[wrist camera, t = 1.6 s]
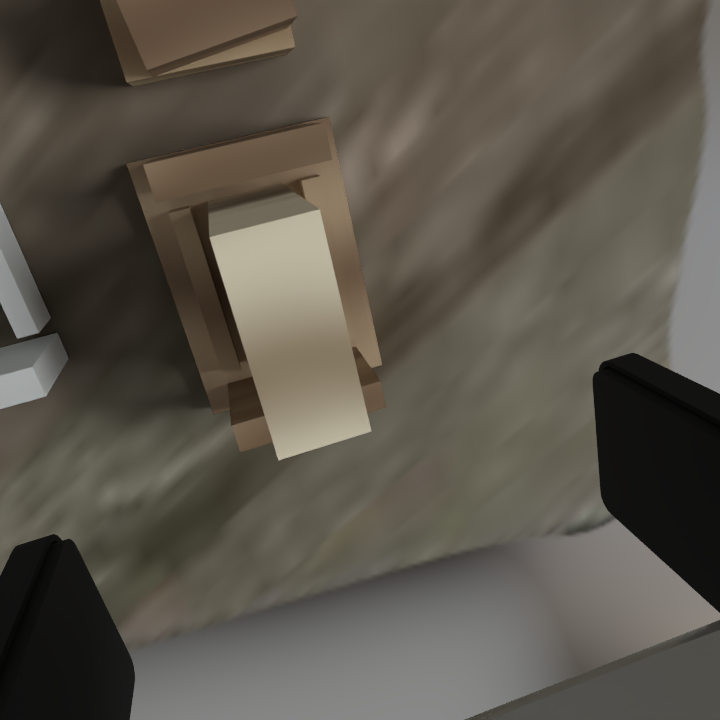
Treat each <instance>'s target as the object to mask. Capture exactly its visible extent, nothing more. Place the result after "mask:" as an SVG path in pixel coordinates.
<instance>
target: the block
mask: <svg viewBox="0 0 720 720" xmlns="http://www.w3.org/2000/svg"><path fill="white" fill-rule="evenodd" d="M208 218H209V238H210V241H211V244H212V247H213V251H214V254H215V257H216V260H217V263H218V267H219V270H220V273H221V276H222V280H223V283H224V286H225V289H226V292H227V296H228V299H229V302H230V305H231V309H232V312H233V315H234V318H235V321H236V325H237V328H238V331H239V334H240V338H241V341H242V344H243V347H244V350H245V354H246V357H247V360H248V363H249V366H250V370H251V373H252V376H253V379H254V383H255V386H256V389H257V392H258V395H259V399H260V402H261V405H262V408H263V412H264V415H265V418H266V421H267V424H268V428H269V431H270V434H271V437H272V441H273V444H274V447H275V450H276V453H277V457H278V460H281V459H284V458H287V457H291V456H294V455H297V454H300V453H303V452H307V451H310V450H313V449H316V448H320V447H323V446H326V445H329V444H332V443H336V442H339V441H342V440H345V439H348V438H352V437H355V436H358V435H361V434H364V433H368V432H371V428H370V423H369V419H368V415H367V410H366V406H365V402H364V398H363V393H362V389H361V385H360V380H359V376H358V372H357V367H356V363H355V359H354V354H353V350H352V346H351V342H350V337H349V333H348V329H347V324H346V320H345V316H344V311H343V307H342V303H341V298H340V294H339V290H338V286H337V281H336V277H335V273H334V268H333V264H332V260H331V255H330V251H329V247H328V242H327V238H326V234H325V230H324V225H323V221H322V217H321V212H320V209H319V208H317V207H316V206H314V205H313V204H311V203H310V202H308V201H307V200H305V199H304V198H302V197H301V196H299V195H298V194H297V193H295V192H294V191H292V190H291V189H289V188H288V187H286V186H285V185H283V184H282V183H279V184H275V185H271V186H267V187H263V188H258V189H254V190H250V191H246V192H242V193H238V194H234V195H230V196H226V197H222V198H218V199H214V200H209V201H208Z"/></svg>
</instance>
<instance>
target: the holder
mask: <svg viewBox="0 0 720 720" xmlns="http://www.w3.org/2000/svg"><path fill="white" fill-rule="evenodd" d="M0 303H1V305H2V308H3V310H4V312H5V314H6V316H7V318H8V320H9V322H10V324H11V327H12V329H13V331H14V333H15V335H16V337H17V339H18V338H22V337H26V336H29V335H33V334H37V333H39V332H40V331H41V330H42V329H43V327H44V326H45V325H46V324H47V322H48V321H49V320H50V319H51V317H50V315H49V312H48V310H47V308H46V306H45V303H44V301H43V299H42V297H41V294H40V292H39V290H38V288H37V285H36V283H35V281H34V278H33V276H32V274H31V272H30V269H29V267H28V265H27V263H26V260H25V258H24V256H23V254H22V251H21V249H20V247H19V244H18V242H17V240H16V238H15V235H14V233H13V231H12V229H11V226H10V224H9V222H8V220H7V217H6V215H5V213H4V210H3V208H2V206H1V204H0ZM68 359H69V358H68V356H67V353H66V351H65V349H64V347H63V344H62V342H61V340H60V337H59V335H58V333H54V334H50V335H47V336H43V337H39V338H35V339H32V340H28V341H24V342H20V343H17V344H13V345H9V346H5V347H2V348H0V409H3V408H6V407H10V406H13V405H17V404H21V403H24V402H28V401H31V400H35V399H38V398H42V397H45V396H47V394H48V392H49V391H50V389H51V387H52V386H53V384H54V382H55V381H56V379H57V377H58V376H59V374H60V372H61V371H62V369H63V367H64V366H65V364H66V362H67V361H68Z"/></svg>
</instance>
